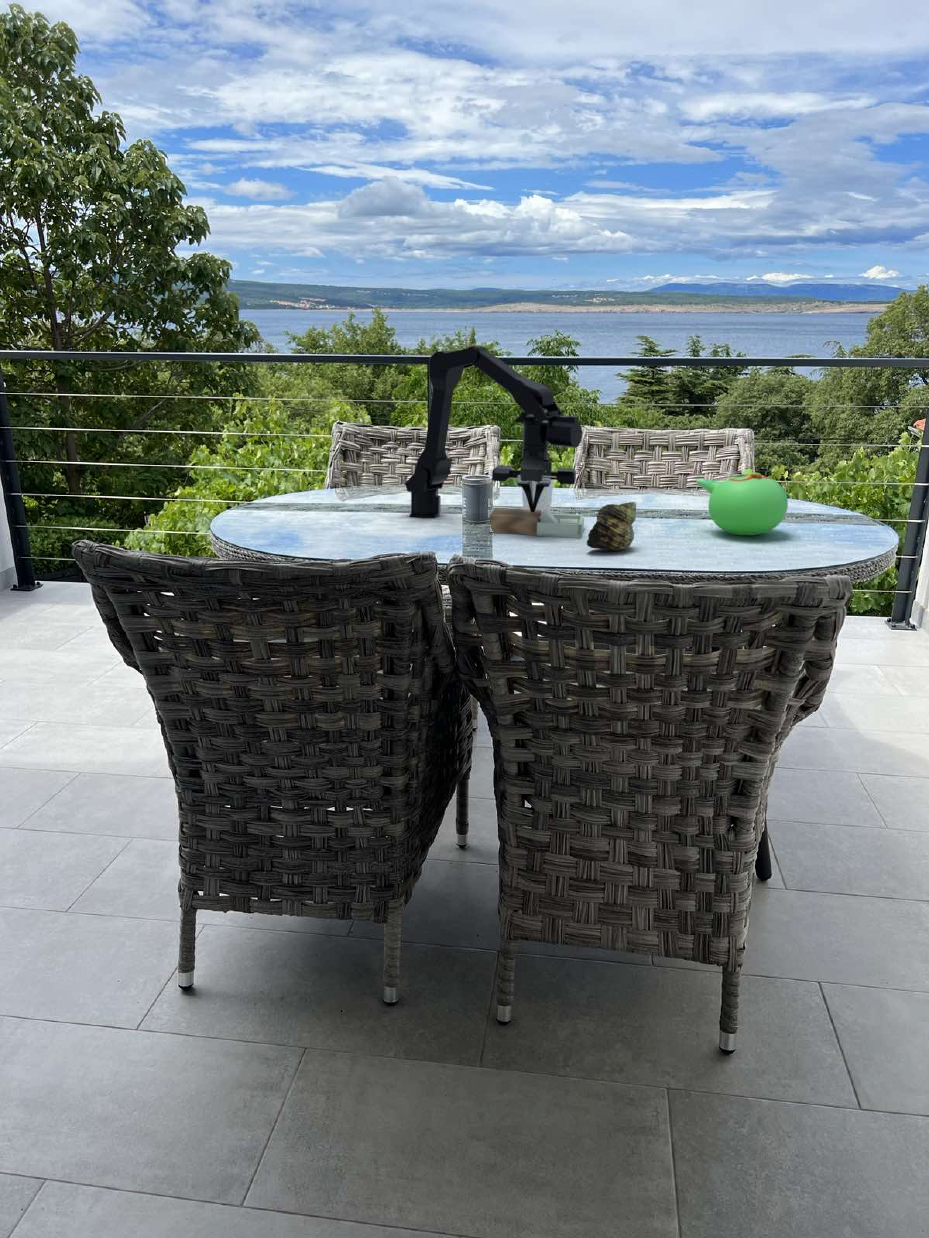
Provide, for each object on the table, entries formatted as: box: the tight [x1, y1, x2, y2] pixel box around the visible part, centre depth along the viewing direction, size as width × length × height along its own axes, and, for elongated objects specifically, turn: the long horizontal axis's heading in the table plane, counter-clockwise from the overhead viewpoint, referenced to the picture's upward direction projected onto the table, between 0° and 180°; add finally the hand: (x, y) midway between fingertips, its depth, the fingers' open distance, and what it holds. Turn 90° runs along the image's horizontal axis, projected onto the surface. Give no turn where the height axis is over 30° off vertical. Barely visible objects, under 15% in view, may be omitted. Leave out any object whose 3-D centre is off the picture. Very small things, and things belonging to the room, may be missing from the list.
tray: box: [536, 513, 585, 539], centre depth 228 cm, size 10×11×3 cm
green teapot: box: [695, 468, 789, 536], centre depth 226 cm, size 18×17×15 cm
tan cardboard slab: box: [489, 507, 541, 536], centre depth 229 cm, size 11×9×4 cm
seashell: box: [586, 501, 637, 551], centre depth 211 cm, size 11×11×10 cm
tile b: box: [560, 519, 578, 524], centre depth 228 cm, size 4×4×2 cm
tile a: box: [539, 509, 558, 523], centre depth 228 cm, size 4×4×2 cm
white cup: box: [521, 480, 554, 513], centre depth 246 cm, size 8×8×10 cm
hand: (532, 512), depth 228 cm, fingers closed
